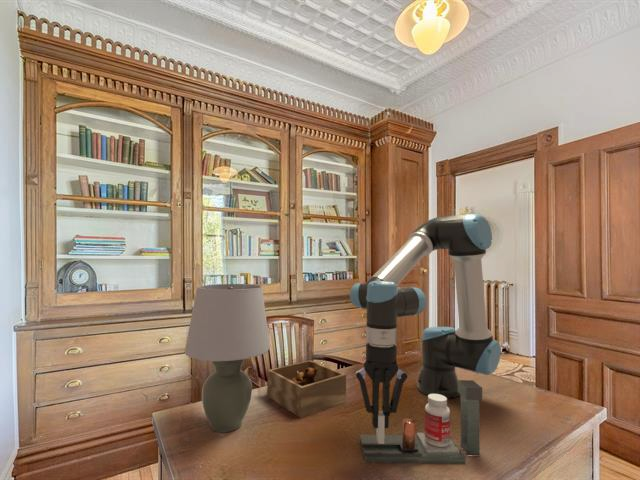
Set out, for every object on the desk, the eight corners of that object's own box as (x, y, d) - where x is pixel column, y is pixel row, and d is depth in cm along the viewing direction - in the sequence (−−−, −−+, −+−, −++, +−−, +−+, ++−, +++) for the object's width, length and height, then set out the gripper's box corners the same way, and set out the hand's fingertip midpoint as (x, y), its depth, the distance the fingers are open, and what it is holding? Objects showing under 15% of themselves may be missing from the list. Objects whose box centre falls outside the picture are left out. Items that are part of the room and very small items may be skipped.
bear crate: (267, 396, 117) (267, 370, 117) (309, 383, 129) (310, 360, 129) (300, 418, 101) (301, 388, 102) (345, 401, 113) (346, 374, 114)
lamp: (282, 431, 94) (285, 288, 96) (194, 459, 80) (200, 292, 82) (248, 400, 113) (252, 282, 115) (173, 418, 100) (178, 284, 102)
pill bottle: (444, 451, 81) (444, 404, 82) (420, 441, 85) (420, 397, 85) (453, 440, 86) (453, 396, 86) (430, 432, 90) (430, 390, 90)
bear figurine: (315, 389, 124) (316, 356, 124) (327, 407, 109) (328, 369, 110) (279, 393, 120) (280, 358, 121) (286, 412, 106) (287, 372, 106)
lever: (402, 453, 81) (402, 424, 81) (399, 446, 84) (399, 418, 84) (418, 454, 81) (418, 424, 81) (414, 446, 84) (415, 418, 84)
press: (363, 463, 80) (364, 390, 81) (358, 440, 90) (359, 376, 90) (488, 464, 80) (487, 392, 81) (469, 441, 90) (469, 377, 91)
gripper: (357, 347, 79) (355, 449, 78) (411, 348, 80) (410, 449, 79) (353, 339, 87) (352, 432, 86) (403, 340, 87) (402, 432, 86)
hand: (380, 440), depth 82 cm, fingers closed
